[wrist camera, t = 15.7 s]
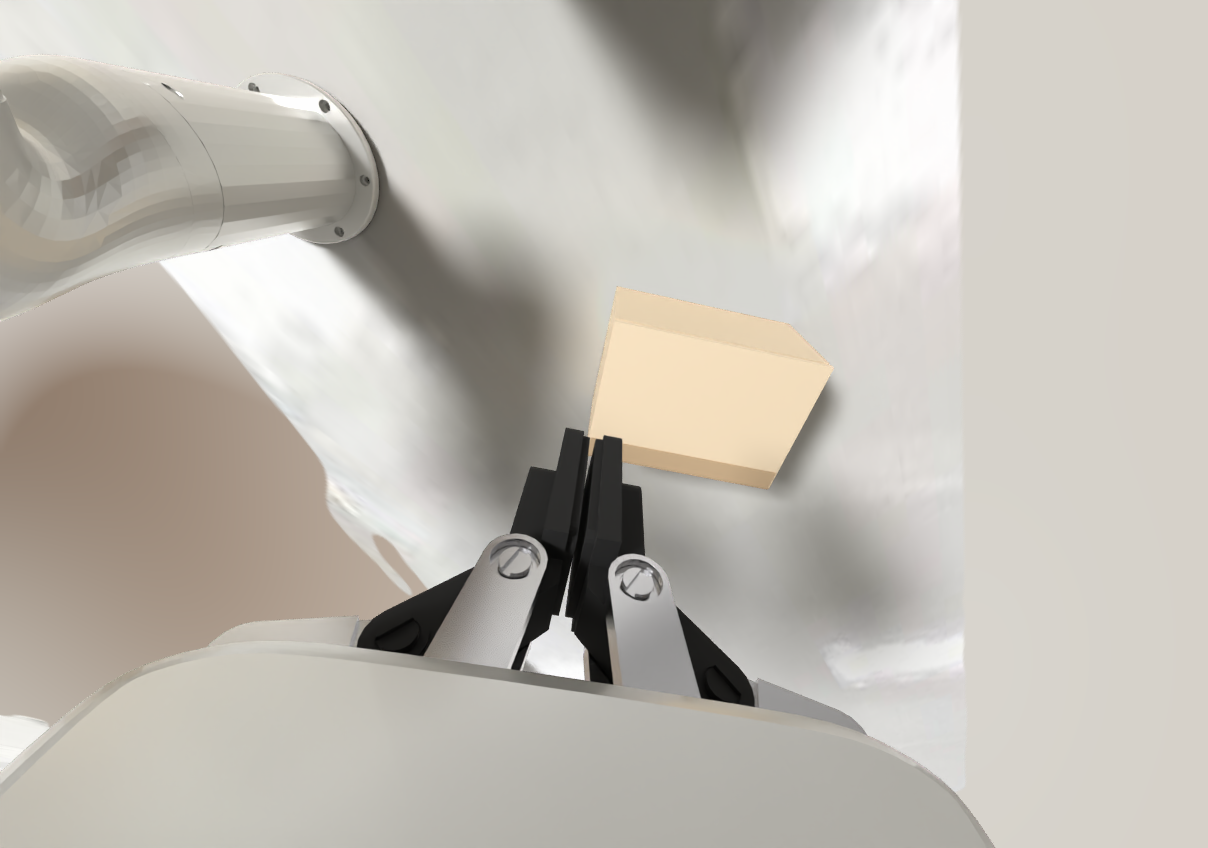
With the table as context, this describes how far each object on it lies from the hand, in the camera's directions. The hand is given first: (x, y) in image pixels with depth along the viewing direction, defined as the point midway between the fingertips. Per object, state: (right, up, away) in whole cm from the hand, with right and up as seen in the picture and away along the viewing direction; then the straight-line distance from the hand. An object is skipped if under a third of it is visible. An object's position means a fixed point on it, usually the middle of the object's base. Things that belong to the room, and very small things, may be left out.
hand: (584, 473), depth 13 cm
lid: (+9, +2, +25) cm, 26 cm away
